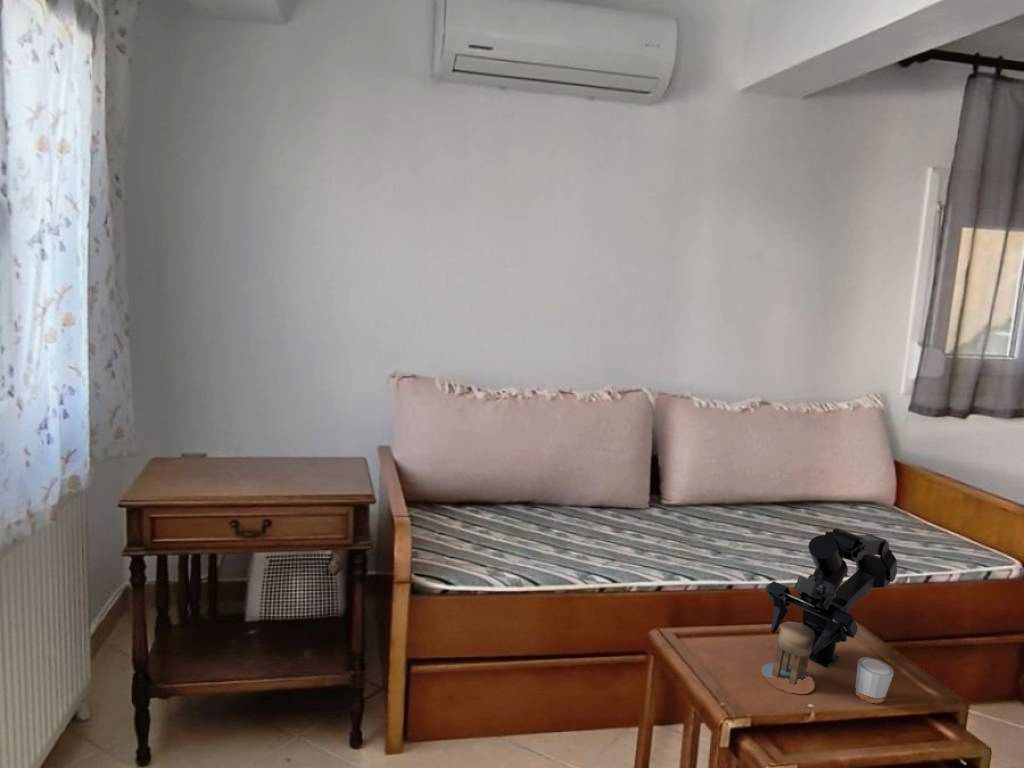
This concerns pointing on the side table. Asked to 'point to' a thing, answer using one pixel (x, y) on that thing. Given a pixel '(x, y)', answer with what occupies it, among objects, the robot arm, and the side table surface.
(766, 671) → the mat
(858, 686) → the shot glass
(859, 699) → the side table surface
